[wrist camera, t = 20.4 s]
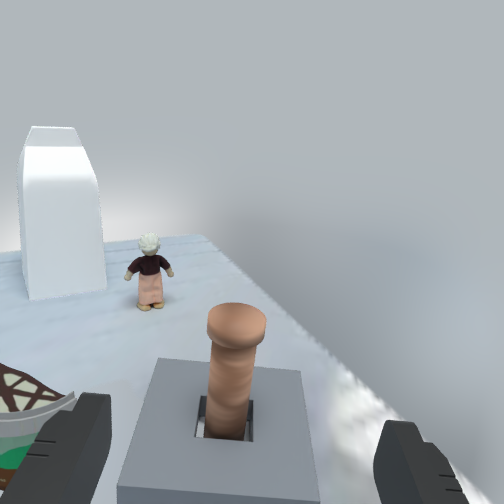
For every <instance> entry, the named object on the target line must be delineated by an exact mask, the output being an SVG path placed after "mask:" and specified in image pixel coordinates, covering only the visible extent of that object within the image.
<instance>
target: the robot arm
mask: <svg viewBox="0 0 504 504" xmlns="http://www.w3.org/2000/svg"><path fill="white" fill-rule="evenodd" d="M111 422H112V421H111V397H110V395H109V394H96V393H86V392H83V393H82V394H81V395H80V397H79V399H78V401H77V403H76V405H75V406H74V408H73V410H72V411H67V410H59V411H58V412H57V413H56V414H54V415H53V416H52V417H51V418H50V419H49V420H47V421H46V422H45V423H44V424H43V426H42V428H41V429H40V431H39V433H38V434H37V436H36V438H35V440H34V443H32V445H31V446H30V448H29V450H28V451H27V453H26V457H24V458H23V460H22V462H21V463H20V465H19V467H18V468H17V470H16V472H15V474H14V475H13V477H12V479H11V480H10V482H9V484H8V485H7V487H6V489H5V491H4V492H3V494H2V496H1V498H0V504H90V503H91V500H92V497H93V495H94V492H95V489H96V487H97V484H98V481H99V478H100V476H101V473H102V471H103V468H104V465H105V463H106V460H107V457H108V454H109V450H110V445H111V438H112V426H111V425H112V423H111ZM373 472H374V479H375V483H376V486H377V490H378V493H379V497H380V500H381V503H382V504H469V502H468V500H467V498H466V496H465V494H463V492H462V488H461V486H460V484H459V482H458V480H457V479H456V478H455V474H454V472H453V470H452V468H451V466H450V464H449V462H448V460H447V458H446V457H445V456H444V455H443V454H442V453H441V452H440V450H439V449H438V448H437V447H436V446H435V445H434V444H433V443H428V442H424V441H423V439H422V437H421V435H420V433H419V430H418V428H417V426H416V425H415V424H414V423H413V422H406V421H394V420H387V421H386V422H385V423H384V426H383V430H382V433H381V436H380V440H379V443H378V446H377V450H376V453H375V456H374V462H373Z"/></svg>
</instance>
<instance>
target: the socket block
mask: <svg viewBox="0 0 504 504" xmlns="http://www.w3.org/2000/svg"><path fill="white" fill-rule="evenodd" d="M209 370H210V362H199V361H188V360H177V359H166V358H158V360H157V363H156V366H155V369H154V373H153V376H152V379H151V382H150V385H149V388H148V391H147V394H146V397H145V400H144V403H143V406H142V409H141V413H140V415H139V419H138V421H137V425H136V428H135V431H134V434H133V437H132V440H131V443H130V446H129V449H128V452H127V456H126V458H125V461H124V465H123V468H122V471H121V474H120V477H119V480H118V483H117V504H320V496H319V489H318V483H317V476H316V470H315V463H314V457H313V450H312V444H311V437H310V431H309V424H308V418H307V412H306V405H305V399H304V392H303V386H302V379H301V373H300V371H297V370H286V369H275V368H264V367H254V369H253V376H252V383H251V390H250V397H249V405H248V412H247V419H246V420H250V442H247V441H235V440H223V439H211V438H199V437H196V432H197V425H198V419H199V416H205V415H206V404H207V393H208V381H209Z"/></svg>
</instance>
